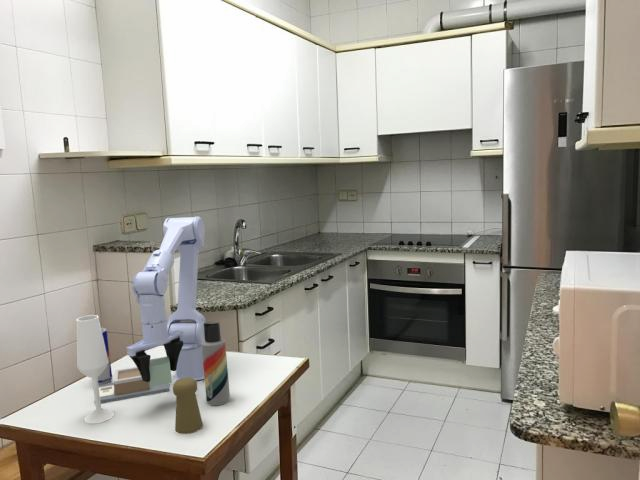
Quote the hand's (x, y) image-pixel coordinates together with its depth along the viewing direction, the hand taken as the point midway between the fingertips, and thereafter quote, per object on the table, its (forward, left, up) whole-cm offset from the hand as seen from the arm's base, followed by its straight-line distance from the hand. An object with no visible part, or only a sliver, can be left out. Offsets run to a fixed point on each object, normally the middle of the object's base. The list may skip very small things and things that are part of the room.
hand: (159, 375), depth 130 cm
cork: (-5, +14, -8) cm, 17 cm away
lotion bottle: (-13, +3, -8) cm, 15 cm away
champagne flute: (+14, -1, -8) cm, 16 cm away
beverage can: (+15, -23, -8) cm, 29 cm away
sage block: (0, 0, -2) cm, 2 cm away
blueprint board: (+7, -14, -8) cm, 17 cm away
